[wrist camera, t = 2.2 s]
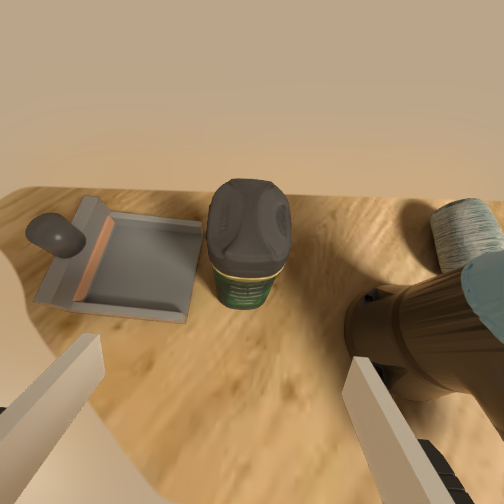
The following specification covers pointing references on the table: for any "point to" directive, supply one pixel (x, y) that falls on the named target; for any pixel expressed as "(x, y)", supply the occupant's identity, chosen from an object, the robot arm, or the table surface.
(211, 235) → the coffee jar
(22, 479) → the robot arm
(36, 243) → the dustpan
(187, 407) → the table surface
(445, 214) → the spool
